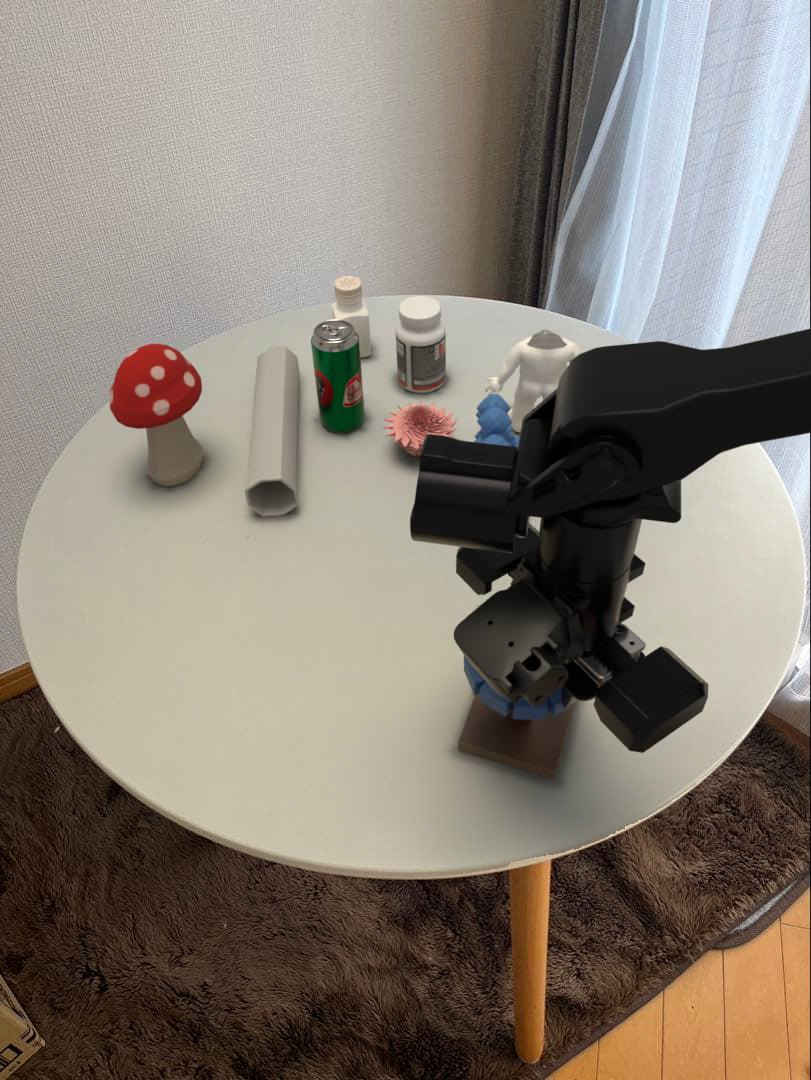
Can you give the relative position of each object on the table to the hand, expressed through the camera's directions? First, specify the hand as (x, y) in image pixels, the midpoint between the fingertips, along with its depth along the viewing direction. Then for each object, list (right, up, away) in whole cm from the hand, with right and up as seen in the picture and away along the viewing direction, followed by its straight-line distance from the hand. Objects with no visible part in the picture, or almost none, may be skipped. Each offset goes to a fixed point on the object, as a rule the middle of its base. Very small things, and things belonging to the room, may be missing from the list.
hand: (560, 694), depth 65 cm
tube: (-26, +23, +35) cm, 49 cm away
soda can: (-18, +25, +37) cm, 48 cm away
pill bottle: (-9, +30, +42) cm, 52 cm away
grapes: (-2, +16, +28) cm, 32 cm away
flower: (-10, +21, +33) cm, 40 cm away
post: (-2, -4, +9) cm, 10 cm away
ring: (-2, +1, +3) cm, 4 cm away
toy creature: (+3, +24, +35) cm, 43 cm away
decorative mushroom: (-36, +19, +32) cm, 52 cm away
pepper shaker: (-18, +34, +46) cm, 60 cm away
